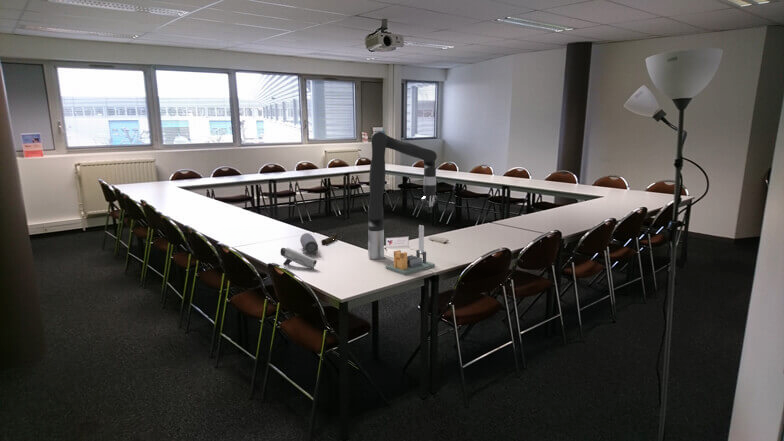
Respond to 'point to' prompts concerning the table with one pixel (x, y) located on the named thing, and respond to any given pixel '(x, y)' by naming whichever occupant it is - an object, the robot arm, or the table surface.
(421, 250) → the grey rod
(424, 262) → the socket board
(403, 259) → the tan upright block
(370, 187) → the robot arm
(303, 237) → the bluetooth speaker
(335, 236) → the hand tool
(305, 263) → the gun
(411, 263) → the heat sink
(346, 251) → the table surface
